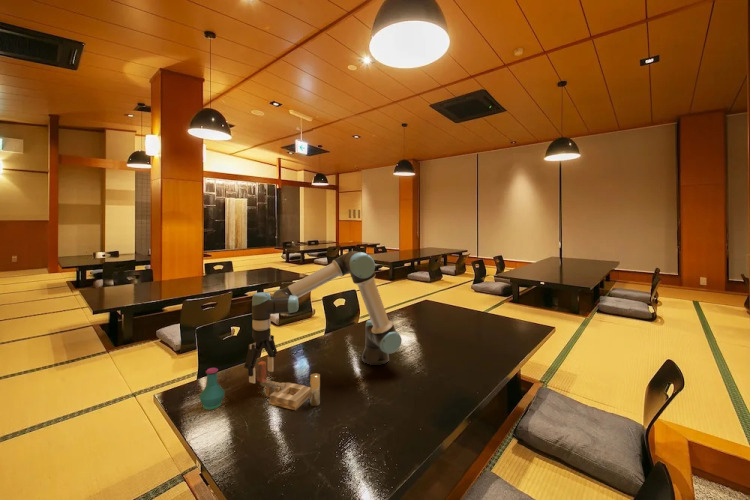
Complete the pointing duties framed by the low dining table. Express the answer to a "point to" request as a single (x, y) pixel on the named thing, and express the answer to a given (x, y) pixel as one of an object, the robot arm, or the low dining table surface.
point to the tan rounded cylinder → (314, 389)
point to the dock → (288, 395)
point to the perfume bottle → (212, 391)
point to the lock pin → (262, 377)
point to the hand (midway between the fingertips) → (261, 376)
